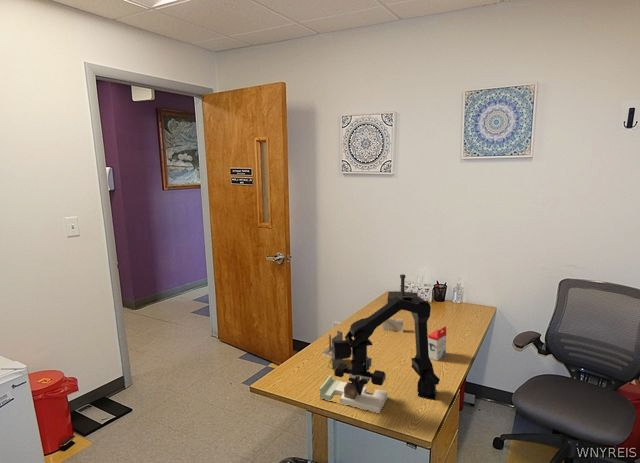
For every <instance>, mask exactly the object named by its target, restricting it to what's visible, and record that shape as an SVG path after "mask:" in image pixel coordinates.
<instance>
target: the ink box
mask: <svg viewBox="0 0 640 463" xmlns="http://www.w3.org/2000/svg"><path fill="white" fill-rule="evenodd" d="M446 349H447V325H445V326H443V327H442V328H440V329H436V330H434V331H433V332H431V333H429V334H428V351H429V358H430V360H433V361H437V362H438V361H439V360H441V359H442V358H444V357H445V356H446V353H447V352H446V351H447V350H446Z"/></svg>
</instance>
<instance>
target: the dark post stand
mask: <svg viewBox="0 0 640 463" xmlns="http://www.w3.org/2000/svg"><path fill="white" fill-rule="evenodd" d="M399 278H400V291H399V290H398V291H396V290H395V291H390V290H389V291H388V294H387V298H386V299H387V301H386V302H387V303H389V302H390V301H392V300H393V298H394V297H397V296H399V297H416V296H419V294H418V292H412V291H405V282H406V281H405V279H406V274H400V275H399ZM387 303H386V304H387Z"/></svg>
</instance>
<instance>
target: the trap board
mask: <svg viewBox="0 0 640 463" xmlns="http://www.w3.org/2000/svg"><path fill="white" fill-rule="evenodd" d="M346 384H347V382H346V381H341V380H337V379H333V375H332V374H330V375H329V376H328V377H327V379H325V381H324V382H323V384H321V386H320V388H319V399H320V398H323V399H327V400H331V399H332V398H333V396H334V395H340V396H341V397H340V403H343V404H347V405H351V406H355V407H358V408H362V409H365V410H364V411H366V410H370V411H373V412H372V413H374V412H376V413H375V414H378V413H381V412H382V410H383V408H384V405H385V403H386V401H387V399H388V391H387V390H382V389H377V388H376V389H375V390H374V392H373V393H371V392H367V386H364V388H363V391H362V394H361V395H358V394H357V396H356V397H355V399H350V398H346V397H344V387H345V385H346ZM382 407H383V408H382ZM358 408H357V409H358ZM362 409H361V410H362ZM381 409H382V410H381ZM370 411H369V412H370ZM380 411H381V412H380Z"/></svg>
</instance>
